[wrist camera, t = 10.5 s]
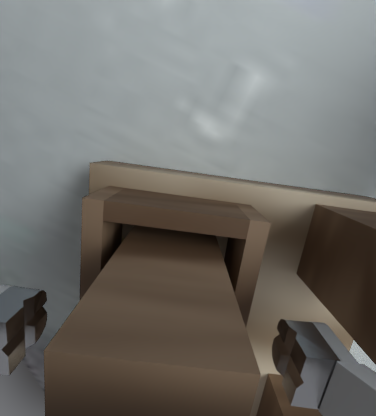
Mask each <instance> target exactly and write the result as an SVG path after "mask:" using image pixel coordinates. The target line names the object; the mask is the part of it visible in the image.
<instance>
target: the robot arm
mask: <svg viewBox="0 0 376 416" xmlns="http://www.w3.org/2000/svg"><path fill="white" fill-rule="evenodd" d="M46 301H47V298H46V292H45V291H44V290H39V289H32V288H25V287H18V286H10V285H2V284H0V375H7V376H9V375H10V374H11V373H12V371H13V370H14V369H15V368H16V367H17V365H18V364H19V363H20V362H21V360H22V359H23V358H24V357H25V349H26V348H28V347H29V346H31V345H33V344H35V343H36V342H37V340H38V339H39V338H40V336H41V335H42V332H43V330H44V328H45V325H46V321H47V312H46V311H45V309H44V308H43V307H42V306H43V305H44V304H45V303H46ZM277 330H278V332H279V335H278V336H276V337H275V338H274V340H273V344H272V358H273V363H274V365H275V368H276V370H277V371H278V372H279V373H280V374H281V375H282V376H283V381H282V385H283V388H284V390H285V393H286V395H287V398H288V400H289V403H290V405H291V406H296V407H303V408H310V409H318V410H319V412H320V413H321V415H322V416H376V372H374V371H373V370H371V369H370V368H368V367H367V366H365V365H364V364H359V363H358V362H357V361H356V360H355V358H354V357H353V356H352V355H351V353H350V352H349V351H348V350H347V348H346V347H345V346H344V345H343V343H342V342H341V341H340V340H339V339H338V337H337V336H336V335H335V334H334V332H333V331H332V330H331V329H330V327H329V326H328V325H327V324H325V323H322V322H310V321H309V322H306V321H297V320H288V319H280V321H279V322H278V325H277Z"/></svg>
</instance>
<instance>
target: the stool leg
mask: <svg viewBox="0 0 376 416" xmlns="http://www.w3.org/2000/svg"><path fill="white" fill-rule="evenodd" d="M260 376H261V373H260V370H259V367H258V364H257V361H256V358H255V355H254V352H253V349H252V346H251V343H250V339H249V336H248V333H247V330H246V327H245V324H244V321H243V318H242V315H241V312H240V309H239V305H238V302H237V299H236V296H235V293H234V290H233V287H232V284H231V281H230V278H229V275H228V272H227V268H226V265H225V262H224V259H223V256H222V253H221V250H220V247H219V244H218V241H217V238H216V236H215V235H208V234H200V233H192V232H185V231H177V230H169V229H162V228H154V227H146V226H139V225H134V226H133V228H132V229H131V231H130V232H129V233H128V235H127V236H126V238H125V239H124V240H123V242H122V243H121V245H120V246H119V247H118V249H117V250H116V251H115V253H114V254H113V256H112V257H111V258H110V260H109V261H108V263H107V264H106V265H105V267H104V268H103V269H102V271H101V272H100V274H99V275H98V276H97V278H96V279H95V281H94V282H93V283H92V285H91V286H90V287H89V289H88V290H87V292H86V293H85V294H84V296H83V297H82V299H81V300H80V301H79V303H78V304H77V305H76V307H75V308H74V310H73V311H72V312H71V314H70V315H69V317H68V318H67V319H66V321H65V322H64V324H63V325H62V326H61V328H60V329H59V330H58V332H57V333H56V335H55V336H54V337H53V339H52V340H51V342H50V343H49V344H48V346H47V347H46V348H45V350H44V380H45V416H250V413H251V410H252V406H253V402H254V399H255V395H256V391H257V387H258V384H259V380H260Z"/></svg>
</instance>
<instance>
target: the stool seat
mask: <svg viewBox="0 0 376 416" xmlns="http://www.w3.org/2000/svg"><path fill="white" fill-rule="evenodd" d="M134 225H139V226H146V227H154V228H162V229H169V230H177V231H185V232H192V233H200V234H208V235H215V236H216V238H217V241H218V244H219V247H220V250H221V253H222V256H223V259H224V262H225V265H226V268H227V272H228V275H229V278H230V281H231V284H232V287H233V290H234V293H235V296H236V299H237V302H238V305H239V309H240V312H241V315H242V318H243V321H244V324H245V327H246V330H247V333H248V336H249V339H250V343H251V346H252V349H253V352H254V355H255V358H256V361H257V364H258V367H259V370H260V373H261V376H260V380H259V384H258V387H257V391H256V395H255V399H254V402H253V406H252V410H251V413H250V416H322V415H321V413H320V412H319V410H318V409H310V408H303V407H296V406H291V405H290V403H289V400H288V398H287V395H286V393H285V390H284V388H283V385H282V381H283V376H282V375H281V374H280V373H279V372H278V371H277V370H276V368H275V365H274V363H273V358H272V344H273V340H274V338H275V337H276V336H278V335H279V332H278V330H277V325H278V322H279V321H280V319H288V320H297V321H306V322H309V321H310V322H322V323H325V324H327V325H328V326H329V327H330V329H331V330H332V331H333V332H334V334H335V335H336V336H337V337H338V339H339V340H340V341H341V342H342V343H343V345H344V346H345V347H346V348H347V350H348V351H349V350H350V348H351V345H352V342H353V340H355V342H356V343H357V344H358V345H359V346H360V347H361V348H362V350H363V351H364V352H365V353H366V354H367V355H368V356H369V358H370V359H371V360H372V361H373V362H374V363H375V364H376V199H374V198H370V197H366V196H358V195H351V194H344V193H337V192H330V191H322V190H315V189H308V188H301V187H294V186H286V185H279V184H272V183H265V182H258V181H250V180H243V179H236V178H229V177H221V176H214V175H207V174H200V173H193V172H185V171H178V170H171V169H164V168H157V167H149V166H142V165H135V164H128V163H121V162H113V161H101V162H93V163H90V174H89V195H87V196H85V197H83V198H82V231H81V271H80V300H81V299H82V297H83V296H84V294H85V293H86V292H87V290H88V289H89V287H90V286H91V285H92V283H93V282H94V281H95V279H96V278H97V276H98V275H99V274H100V272H101V271H102V269H103V268H104V267H105V265H106V264H107V263H108V261H109V260H110V258H111V257H112V256H113V254H114V253H115V251H116V250H117V249H118V247H119V246H120V245H121V243H122V242H123V240H124V239H125V238H126V236H127V235H128V233H129V232H130V231H131V229H132V228H133V226H134Z"/></svg>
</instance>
